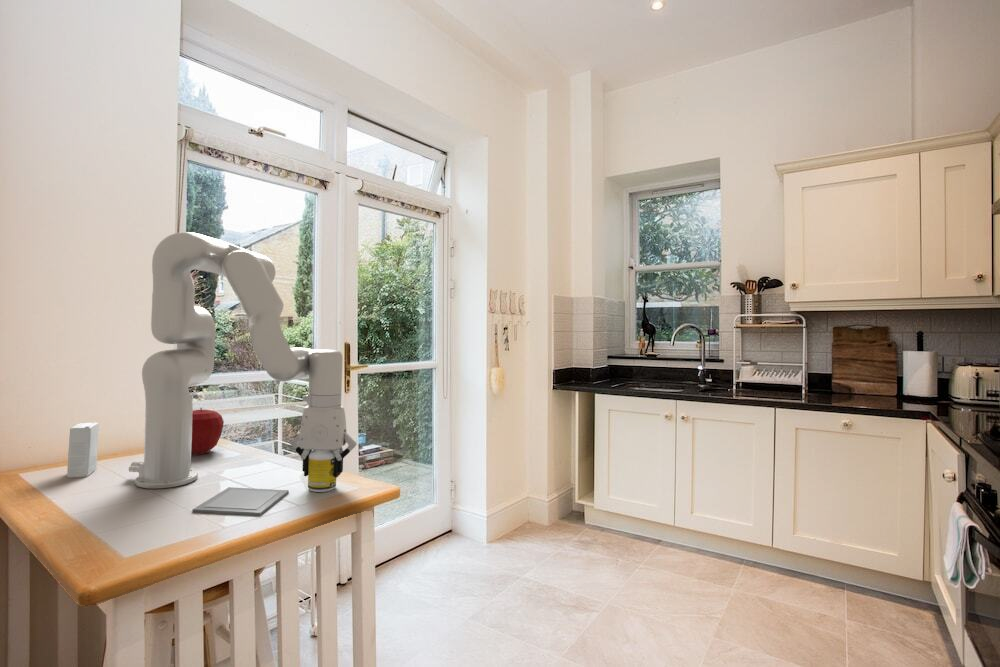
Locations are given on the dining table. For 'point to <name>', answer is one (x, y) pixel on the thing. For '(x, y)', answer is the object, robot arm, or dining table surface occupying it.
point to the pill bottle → (321, 471)
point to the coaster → (241, 501)
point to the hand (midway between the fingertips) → (322, 474)
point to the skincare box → (82, 450)
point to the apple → (205, 430)
